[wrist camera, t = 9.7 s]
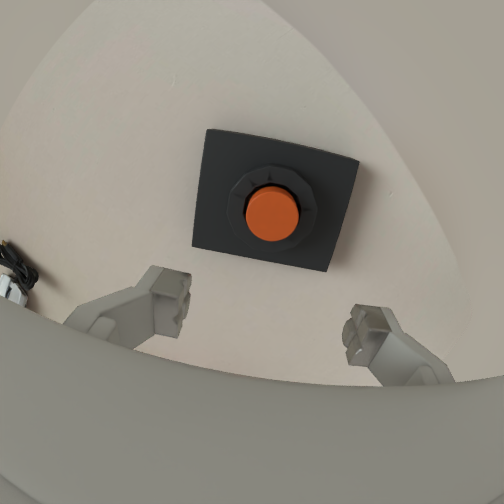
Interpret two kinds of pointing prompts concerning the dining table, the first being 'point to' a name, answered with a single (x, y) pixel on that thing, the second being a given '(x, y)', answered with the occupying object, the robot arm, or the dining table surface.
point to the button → (272, 214)
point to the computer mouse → (10, 286)
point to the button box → (264, 175)
